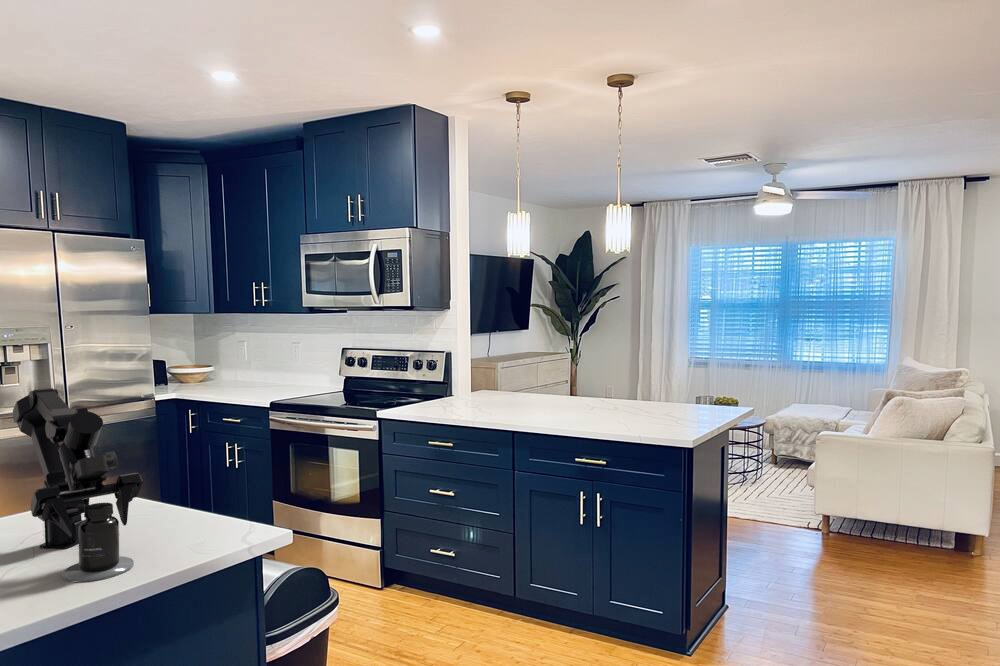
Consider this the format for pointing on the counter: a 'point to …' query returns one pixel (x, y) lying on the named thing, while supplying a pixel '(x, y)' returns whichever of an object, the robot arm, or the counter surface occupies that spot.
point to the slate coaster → (77, 575)
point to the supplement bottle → (98, 538)
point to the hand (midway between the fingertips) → (99, 529)
